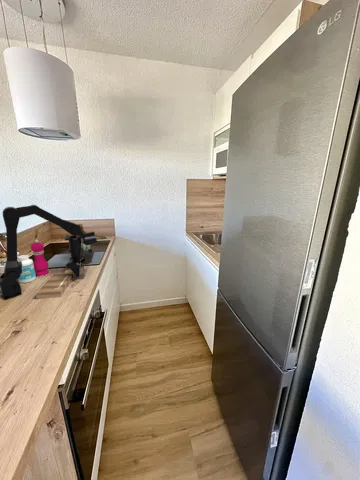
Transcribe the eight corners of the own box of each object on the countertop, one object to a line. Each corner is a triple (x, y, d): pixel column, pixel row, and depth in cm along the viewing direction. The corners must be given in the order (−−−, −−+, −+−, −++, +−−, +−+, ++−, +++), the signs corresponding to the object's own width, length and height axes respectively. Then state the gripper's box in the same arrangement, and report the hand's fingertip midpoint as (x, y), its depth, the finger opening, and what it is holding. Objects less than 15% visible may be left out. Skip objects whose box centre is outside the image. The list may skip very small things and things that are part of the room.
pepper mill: (52, 271, 121) (47, 238, 116) (43, 276, 114) (37, 241, 109) (41, 271, 122) (35, 237, 116) (31, 276, 115) (24, 241, 109)
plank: (61, 296, 94) (60, 291, 93) (36, 299, 92) (35, 293, 91) (74, 275, 116) (74, 271, 115) (55, 277, 114) (54, 272, 113)
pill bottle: (16, 284, 105) (10, 259, 102) (22, 278, 112) (17, 254, 109) (33, 282, 107) (28, 257, 104) (38, 276, 114) (34, 253, 111)
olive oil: (72, 262, 136) (67, 224, 129) (89, 258, 143) (84, 222, 136) (79, 266, 128) (73, 226, 122) (95, 262, 136) (91, 224, 129)
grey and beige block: (83, 278, 112) (82, 268, 110) (65, 280, 110) (64, 270, 108) (85, 275, 115) (84, 265, 114) (67, 277, 113) (66, 267, 112)
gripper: (88, 251, 101) (91, 280, 105) (95, 241, 119) (97, 267, 123) (63, 253, 99) (68, 282, 103) (74, 242, 117) (77, 268, 121)
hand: (79, 274), depth 113 cm, fingers open, 5 cm apart
